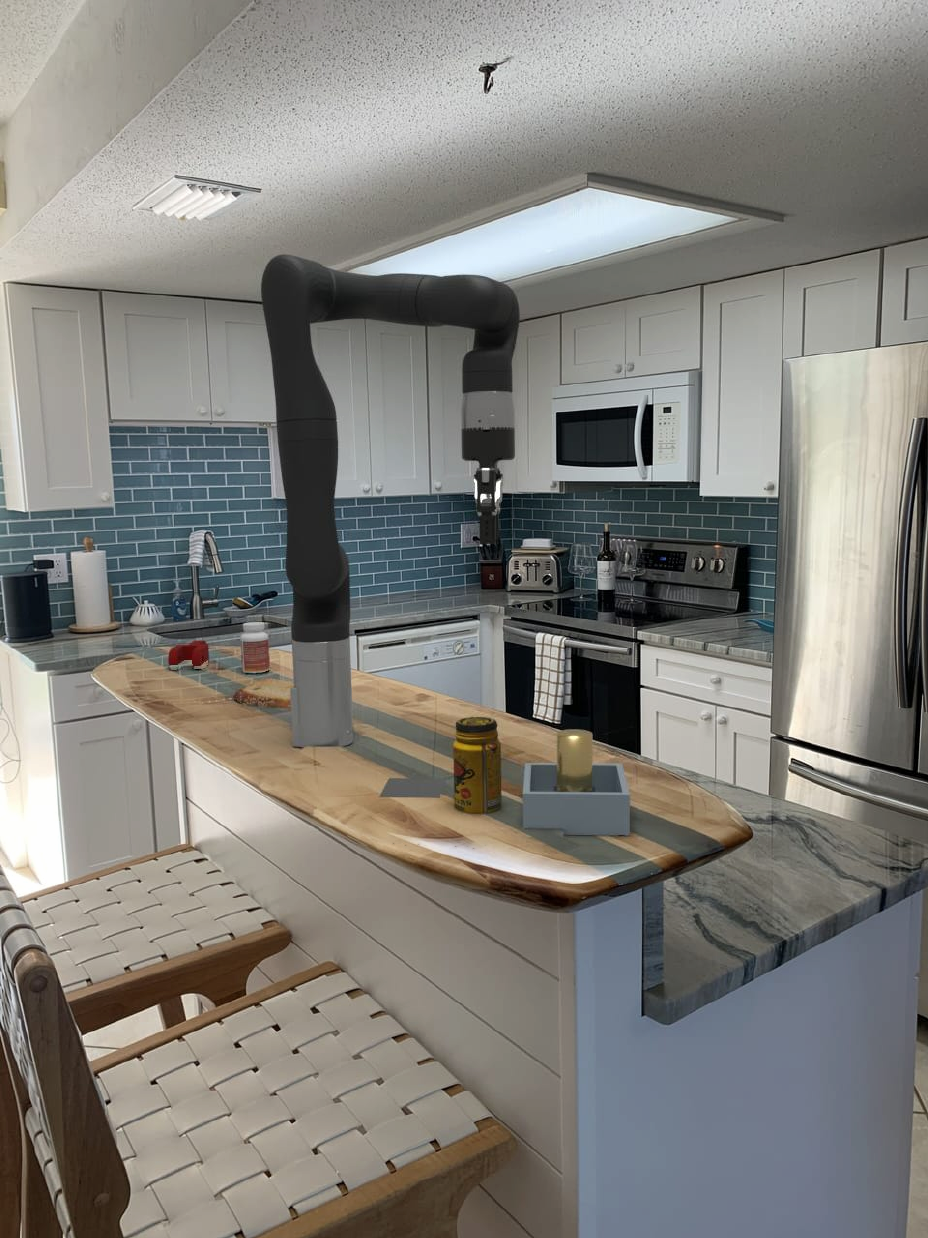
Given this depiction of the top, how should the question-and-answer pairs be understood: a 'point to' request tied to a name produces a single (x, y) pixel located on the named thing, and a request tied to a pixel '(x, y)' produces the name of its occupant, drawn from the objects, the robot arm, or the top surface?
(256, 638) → the pill bottle
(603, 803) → the bin
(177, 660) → the red arch block
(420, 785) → the stud plate
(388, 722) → the top surface
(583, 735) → the gold cylindrical piece
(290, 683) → the bread slice
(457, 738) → the condiment
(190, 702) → the top surface
